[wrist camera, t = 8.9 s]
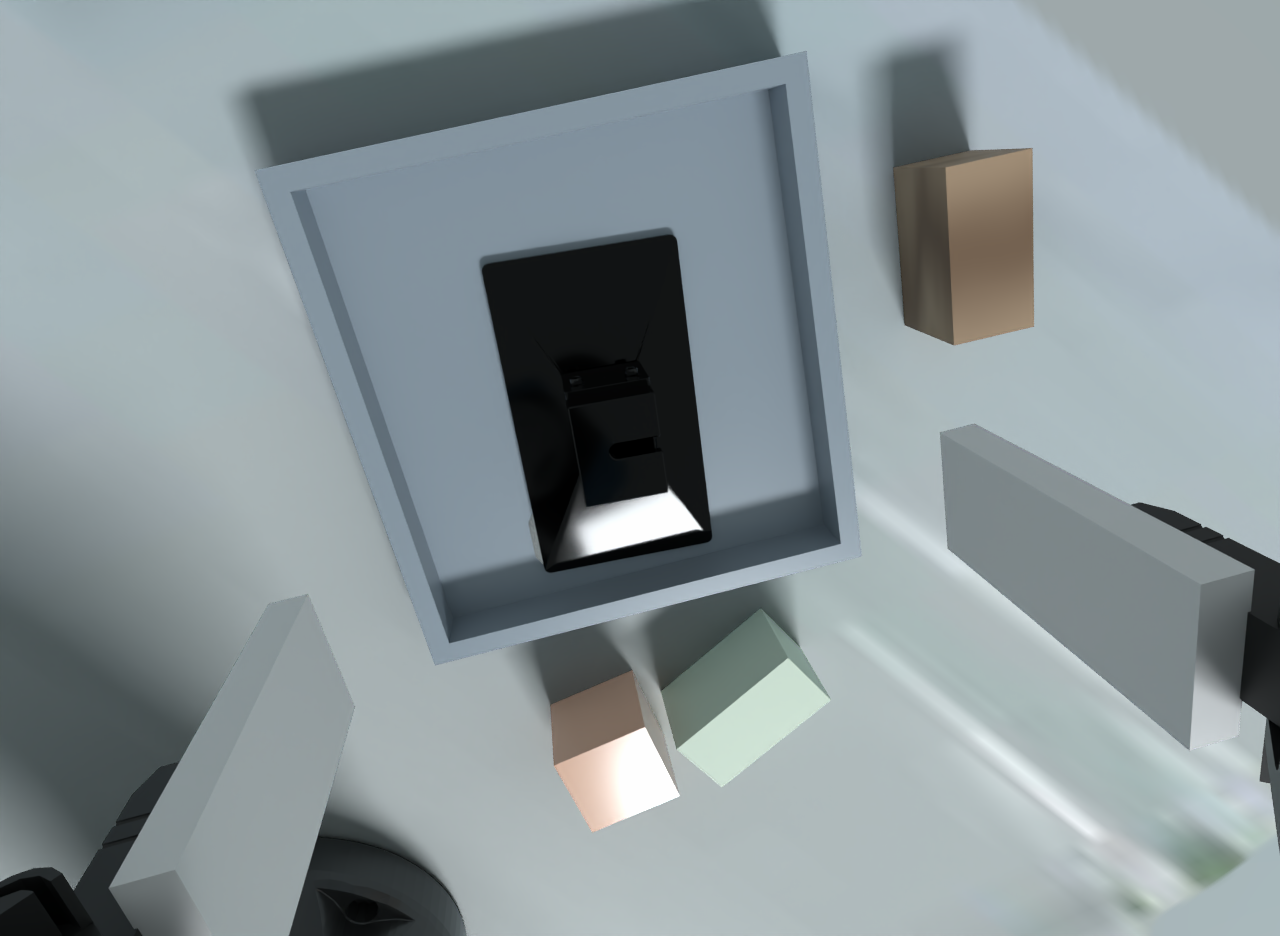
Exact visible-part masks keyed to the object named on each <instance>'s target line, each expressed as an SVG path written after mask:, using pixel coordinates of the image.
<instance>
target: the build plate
mask: <svg viewBox="0 0 1280 936" xmlns="http://www.w3.org/2000/svg"><path fill="white" fill-rule="evenodd" d="M482 275H483V280H484V285H485V289H486V294H487V299H488V304H489V308H490V313H491V318H492V323H493V327H494V332H495V337H496V342H497V346H498V351H499V356H500V361H501V365H502V370H503V375H504V380H505V384H506V389H507V394H508V399H509V403H510V408H511V413H512V418H513V422H514V427H515V432H516V437H517V441H518V446H519V451H520V456H521V460H522V465H523V470H524V475H525V479H526V484H527V489H528V493H529V498H530V503H531V508H532V515H531V517H530V520H529V523H528V524H529V529H530V534H531V538H532V543H533V548H534V552H535V557H536V558H537V559H538V560H539V561H540V562H541V563H542V564H543V565H544V569H545V571H546V572H548V573H553V572H558V571H564V570H569V569H574V568H579V567H584V566H589V565H595V564H600V563H605V562H610V561H615V560H620V559H625V558H631V557H636V556H641V555H646V554H651V553H656V552H662V551H667V550H672V549H677V548H682V547H687V546H692V545H698V544H703V543H708V542H710V541H711V539H712V529H711V521H710V512H709V504H708V496H707V487H706V479H705V470H704V462H703V454H702V445H701V437H700V428H699V420H698V412H697V403H696V395H695V386H694V378H693V370H692V361H691V353H690V344H689V336H688V327H687V319H686V311H685V302H684V294H683V285H682V277H681V269H680V260H679V252H678V243H677V239H676V237H675V236H673V235H671V234H666V235H660V236H653V237H647V238H641V239H635V240H628V241H622V242H616V243H610V244H603V245H597V246H591V247H585V248H579V249H572V250H566V251H560V252H554V253H547V254H541V255H535V256H529V257H522V258H516V259H510V260H504V261H497V262H491V263H487V264H485V265H484V266H483V268H482Z"/></svg>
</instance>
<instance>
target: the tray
mask: <svg viewBox="0 0 1280 936" xmlns="http://www.w3.org/2000/svg"><path fill="white" fill-rule="evenodd" d="M255 173H256V176H257V178H258V181H259V184H260V187H261V189H262V192H263V195H264V198H265V200H266V203H267V206H268V208H269V211H270V214H271V217H272V219H273V222H274V225H275V228H276V230H277V233H278V236H279V239H280V241H281V244H282V247H283V250H284V252H285V255H286V258H287V261H288V263H289V266H290V269H291V272H292V274H293V277H294V280H295V283H296V285H297V288H298V291H299V294H300V296H301V299H302V302H303V304H304V307H305V310H306V313H307V315H308V318H309V321H310V324H311V326H312V329H313V332H314V335H315V337H316V340H317V343H318V346H319V348H320V351H321V354H322V357H323V359H324V362H325V365H326V368H327V370H328V373H329V376H330V379H331V381H332V384H333V387H334V389H335V392H336V395H337V398H338V400H339V403H340V406H341V409H342V411H343V414H344V417H345V420H346V422H347V425H348V428H349V431H350V433H351V436H352V439H353V442H354V444H355V447H356V450H357V453H358V455H359V458H360V461H361V464H362V466H363V469H364V472H365V475H366V477H367V480H368V483H369V485H370V488H371V491H372V494H373V496H374V499H375V502H376V505H377V507H378V510H379V513H380V516H381V518H382V521H383V524H384V527H385V529H386V532H387V535H388V538H389V540H390V543H391V546H392V549H393V551H394V554H395V557H396V560H397V562H398V565H399V568H400V571H401V573H402V576H403V579H404V581H405V584H406V587H407V590H408V592H409V595H410V598H411V601H412V603H413V606H414V609H415V612H416V614H417V617H418V620H419V623H420V625H421V628H422V631H423V634H424V636H425V639H426V642H427V645H428V647H429V650H430V653H431V656H432V658H433V661H434V664H435V665H438V664H442V663H446V662H450V661H454V660H458V659H462V658H466V657H470V656H474V655H478V654H482V653H485V652H489V651H493V650H497V649H501V648H505V647H509V646H513V645H517V644H521V643H525V642H529V641H532V640H536V639H540V638H544V637H548V636H552V635H556V634H560V633H564V632H568V631H572V630H576V629H579V628H583V627H587V626H591V625H595V624H599V623H603V622H607V621H611V620H615V619H619V618H623V617H626V616H630V615H634V614H638V613H642V612H646V611H650V610H654V609H658V608H662V607H666V606H669V605H673V604H677V603H681V602H685V601H689V600H693V599H697V598H701V597H705V596H709V595H713V594H716V593H720V592H724V591H728V590H732V589H736V588H740V587H744V586H748V585H752V584H756V583H760V582H763V581H767V580H771V579H775V578H779V577H783V576H787V575H791V574H795V573H799V572H803V571H807V570H810V569H814V568H818V567H822V566H826V565H830V564H834V563H838V562H842V561H846V560H850V559H853V558H857V557H861V556H862V553H861V544H860V535H859V525H858V516H857V507H856V498H855V489H854V480H853V471H852V462H851V452H850V443H849V434H848V425H847V416H846V407H845V398H844V389H843V379H842V370H841V361H840V352H839V343H838V334H837V325H836V315H835V306H834V297H833V288H832V279H831V270H830V261H829V252H828V242H827V233H826V224H825V215H824V206H823V197H822V188H821V179H820V169H819V160H818V151H817V142H816V133H815V124H814V115H813V106H812V96H811V87H810V78H809V69H808V60H807V51H805V52H800V53H795V54H791V55H786V56H781V57H777V58H772V59H768V60H763V61H758V62H754V63H749V64H744V65H740V66H735V67H731V68H726V69H721V70H717V71H712V72H707V73H703V74H698V75H693V76H689V77H684V78H680V79H675V80H670V81H666V82H661V83H656V84H652V85H647V86H643V87H638V88H633V89H629V90H624V91H619V92H615V93H610V94H606V95H601V96H596V97H592V98H587V99H582V100H578V101H573V102H569V103H564V104H559V105H555V106H550V107H545V108H541V109H536V110H531V111H527V112H522V113H518V114H513V115H508V116H504V117H499V118H494V119H490V120H485V121H481V122H476V123H471V124H467V125H462V126H457V127H453V128H448V129H444V130H439V131H434V132H430V133H425V134H420V135H416V136H411V137H407V138H402V139H397V140H393V141H388V142H383V143H379V144H374V145H370V146H365V147H360V148H356V149H351V150H346V151H342V152H337V153H332V154H328V155H323V156H319V157H314V158H309V159H305V160H300V161H295V162H291V163H286V164H282V165H277V166H272V167H268V168H263V169H258V170H255ZM666 234H671V235H673V236H675V237H676V239H677V243H678V252H679V260H680V269H681V277H682V285H683V294H684V302H685V311H686V319H687V327H688V336H689V344H690V353H691V361H692V370H693V378H694V386H695V395H696V403H697V412H698V420H699V428H700V437H701V445H702V454H703V462H704V470H705V479H706V487H707V496H708V504H709V512H710V521H711V529H712V539H711V541H710V542H708V543H703V544H698V545H692V546H687V547H682V548H677V549H672V550H667V551H662V552H656V553H651V554H646V555H641V556H636V557H631V558H625V559H620V560H615V561H610V562H605V563H600V564H595V565H589V566H584V567H579V568H574V569H569V570H564V571H558V572H553V573H548V572H546V571H545V569H544V565H543V564H542V563H541V562H540V561H539V560H538V559H537V558H536V557H535V552H534V548H533V543H532V538H531V534H530V529H529V524H528V523H529V520H530V517H531V515H532V508H531V503H530V498H529V493H528V489H527V484H526V479H525V475H524V470H523V465H522V460H521V456H520V451H519V446H518V441H517V437H516V432H515V427H514V422H513V418H512V413H511V408H510V403H509V399H508V394H507V389H506V384H505V380H504V375H503V370H502V365H501V361H500V356H499V351H498V346H497V342H496V337H495V332H494V327H493V323H492V318H491V313H490V308H489V304H488V299H487V294H486V289H485V285H484V280H483V275H482V268H483V266H484V265H485V264H487V263H491V262H497V261H504V260H510V259H516V258H522V257H529V256H535V255H541V254H547V253H554V252H560V251H566V250H572V249H579V248H585V247H591V246H597V245H603V244H610V243H616V242H622V241H628V240H635V239H641V238H647V237H653V236H660V235H666Z"/></svg>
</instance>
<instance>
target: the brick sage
mask: <svg viewBox="0 0 1280 936" xmlns="http://www.w3.org/2000/svg"><path fill="white" fill-rule="evenodd" d="M661 693H662V697H663V701H664V704H665V708H666V712H667V716H668V719H669V723H670V727H671V730H672V734H673V738H674V741H675V745H676V749H677V750H678V751H679V752H680V753H682V754H683V755H684V756H685V757H686V758H688V759H689V760H690V761H691V762H692V763H693V764H695V765H696V766H697V767H698V768H699V769H701V770H702V771H703V772H704V773H705V774H707V775H708V776H709V777H710V778H711V779H713V780H714V781H715V782H716V783H717V784H719V785H720V786H721V787H723V786H724V785H726V784H727V783H728V782H729V781H731V780H732V779H733V778H734V777H736V776H737V775H738V774H739V773H741V772H742V771H743V770H744V769H746V768H747V767H748V766H749V765H751V764H752V763H753V762H754V761H756V760H757V759H758V758H759V757H761V756H762V755H763V754H764V753H766V752H767V751H768V750H769V749H771V748H772V747H773V746H774V745H776V744H777V743H778V742H779V741H781V740H782V739H783V738H784V737H786V736H787V735H788V734H789V733H790V732H792V731H793V730H794V729H795V728H797V727H798V726H799V725H800V724H802V723H803V722H804V721H805V720H807V719H808V718H809V717H810V716H812V715H813V714H814V713H815V712H817V711H818V710H819V709H820V708H822V707H823V706H824V705H825V704H827V703H828V702H829V701H830V700H831V699H830V697H829V696H828V694H827V692H826V691H825V689H824V687H823V685H822V684H821V682H820V680H819V679H818V677H817V675H816V673H815V672H814V670H813V668H812V667H811V665H810V663H809V662H808V660H807V658H806V656H805V655H804V653H803V651H802V650H801V648H800V647H799V646H798V645H797V644H796V643H795V642H794V641H793V640H792V639H791V638H790V637H789V636H788V635H787V634H786V633H785V632H784V631H783V630H782V629H781V628H780V627H779V626H778V625H777V624H776V623H775V622H774V621H773V620H772V619H771V618H770V617H769V616H768V615H767V614H766V613H765V612H764V611H763V610H762V609H761V608H760V609H759V610H758V611H757V612H755V613H754V614H753V615H752V616H751V617H749V618H748V619H747V620H746V621H745V622H743V623H742V624H741V625H740V626H739V627H737V628H736V629H735V630H734V631H733V632H731V633H730V634H729V635H728V636H727V637H725V638H724V639H723V640H722V641H721V642H720V643H718V644H717V645H716V646H715V647H714V648H712V649H711V650H710V651H709V652H708V653H706V654H705V655H704V656H703V657H702V658H700V659H699V660H698V661H697V662H696V663H694V664H693V665H692V666H691V667H690V668H688V669H687V670H686V671H685V672H684V673H682V674H681V675H680V676H679V677H678V678H676V679H675V680H674V681H673V682H672V683H670V684H669V685H668V686H667V687H666V688H664V689H663V690H662V691H661Z"/></svg>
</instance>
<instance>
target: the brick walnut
mask: <svg viewBox="0 0 1280 936" xmlns="http://www.w3.org/2000/svg"><path fill="white" fill-rule="evenodd" d="M893 171H894V184H895V198H896V212H897V226H898V240H899V254H900V267H901V281H902V295H903V309H904V323H905V325H906V326H908V327H911V328H913V329H915V330H918V331H920V332H923V333H925V334H928V335H930V336H932V337H935V338H937V339H940V340H942V341H945V342H947V343H949V344H952V345H958V344H962V343H966V342H971V341H975V340H979V339H983V338H987V337H992V336H996V335H1000V334H1004V333H1009V332H1013V331H1017V330H1021V329H1026V328H1030V327H1034V279H1033V163H1032V148H1025V149H998V150H971V151H966V152H961V153H957V154H952V155H947V156H943V157H938V158H934V159H929V160H925V161H920V162H916V163H911V164H907V165H902V166H898V167H893Z"/></svg>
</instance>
